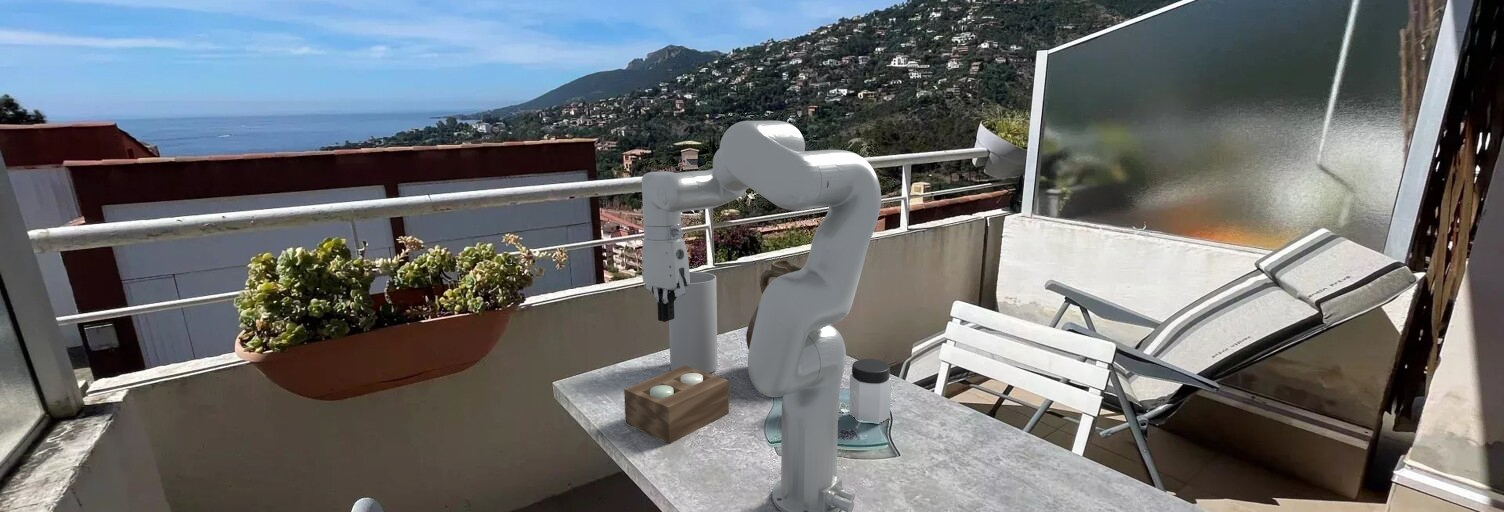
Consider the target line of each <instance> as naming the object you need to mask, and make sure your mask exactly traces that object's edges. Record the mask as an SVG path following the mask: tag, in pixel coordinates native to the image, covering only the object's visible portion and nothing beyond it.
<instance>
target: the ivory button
mask: <svg viewBox="0 0 1504 512" xmlns="http://www.w3.org/2000/svg"><path fill="white" fill-rule="evenodd" d="M702 381H703V376H702V375H701V374H698V373H687V374H684V375H682V376H681V382H682V383H685V384H687V385H690V386H693V385H695V384H697V383H700V382H702Z"/></svg>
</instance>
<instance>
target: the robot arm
mask: <svg viewBox="0 0 1504 512" xmlns="http://www.w3.org/2000/svg"><path fill="white" fill-rule="evenodd" d="M805 142H806V141H805V138H804V136H803V134H802V133H801V132H800V130H799V129H798V128H797V127H796V126H795V125H794V124H792V123H789V122H786V121H783V120H742V121H738V122H736V123H734V124H733V125H730V127H728V129H727V130H726V131H725V132H724V133H723V135H722V137H721V140H720V142H719V148H718V149H717V150H716V152H715V153H714V155H713V157H712V158H713V159H712V168H711V169H708V170H694V171H693V170H692V171H682V172H673V171H650V172H647V173H646V172H645V173H644V174H643V175H642V178H641V194H642V212H643V216H642V217H643V218H642V219H643V241H642V242H643V243H642V250H641V252H642V253H641V277H642V282H643V283H644V284H645V288H646V290H648V291H650V292H652V295H653V296H654V300H655V302H656V303H657V321H659V322H662V323H663V322H664V323H666V322H669V320H672V319H674V317H675V316H674V301H676V298H677V296H682V295H685V293H686V292H685V287H687V286H689V284H690V272H691V271H690V264H689V257H688V256H689V255H688V249H687V245H686V242H685V239H682V236H683V235H684V231H683V230H682V220H681V219H682V218H681V217H682V214H681V213H684V212H690V211H699V210H708V209H714V208H718V207H720V206H723V205H725V204H727V203H730V202H732V201H735V200H737V199H739V198H741V197H743V195H744V194H745V193H746V191H747V190H748V189H751V190H753V191H754V192H756V194H759V195H760V196H761V197H763V198H764V199H766V200H768V201H769V202H770V203H772V204H773V205H776V206H777V207H778V208H782V209H783V210H785V209H786V210H788V211H806V210H811V209H816V208H817V209H818V208H824V207H828V211H827V213H826V215H825V216H824V218H823V220H822V221H821V222H820V223H819V225H818V227H817V229H816V231H815V233H814V235H813V238H812V241H811V245H810V250H809V254H808V256H807V259H806V262H805V264H804V266H803V267H802V269H801V270H799V271H795V272H791V273H787V274H784V275H782V276H779V277H777V278H776V277H775V278H774V279H773V280H772V281H771V282H769V285H768V286H767V287H766V289H765V291H764V292H763V294H762V293H761V298H760V300H759V303H758V305H759V307H758V311H757V316H756V320H755V325H754V329H753V334H752V338H751V343H750V347H749V349H748V353H747V354H748V355H747V371H748V376H749V378H750V381H751V383H752V385H753V387H754V388H755V389H756V390H757V391H758V392H759V393H760V394H762V395H764V396H767V397H770V398H781V397H782V402H781V439H780V441H781V444H780V445H781V447H780V448H781V449H780V450H781V452H780V453H781V454H780V455H781V457H780V458H781V459H780V461H781V463H780V464H781V465H780V467H781V470H780V472H781V473H780V480H778V482H776V483H775V485H773V488H772V490H771V495H772V496H771V500H772V503H773V505H774V506H775V508H777V510H779V511H780V512H840V511H843V512H853V510H854V507H855V502H854V500H855V497H856V495H855V493H853V492H850V491H847V490H845V489H844V488H843V478H842V477H839V476H837V474H838V473H837V470H838V467H837V466H838V431H839V430H838V429H839V407H840V392H841V384H842V379H843V376H844V375H843V374H844V370H845V366H846V359H847V354H846V353H847V351H846V350H847V349H846V345H845V340H844V338H843V336H842V335H841V332H839V330H837V328H835V327H834V326H833V325H834V324H837V323H840V322H841V321H843V319H845V318H846V317H847V316H848V315H849V313H850V310H851V309H852V307H853V303H854V300H855V296H856V293H857V289H858V286H859V282H860V278H861V275H862V272H863V268H864V265H865V260H866V256H867V252H868V249H869V245H870V243H871V240H872V237H873V234H874V232H875V228H876V226H877V223H878V219H879V216H880V212H881V207H882V192H881V191H882V190H881V185H880V181H879V178H878V176H877V174H876V172H875V170H874V168H873V166H872V165H871V164H870V163H869V162H868V161H867V160H866V159H865V158H864V157H862V156H860V155H859V154H858V153H855V152H853V151H848V150H843V149H821V150H805V149H806V144H805ZM670 291H671V292H670ZM669 292H670V293H669Z"/></svg>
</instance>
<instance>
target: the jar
mask: <svg viewBox="0 0 1504 512" xmlns="http://www.w3.org/2000/svg"><path fill="white" fill-rule="evenodd" d="M851 366H852V367H851V374H850V375H849V401H848V402H849V403H848V404H849V405H848V406H849V407H848V413H850V414H851V415H853V416H854V417H855V418H856V419H857V420H863V421H873V422H882V423H883V421H884V422H886V421H887V420H888V419H890V417H891V400H892V378H891V376H890V374H891V366H890V364H889V363H887V362H886V361H883V360H879V359H876V358H875V359H874V358H873V359H872V358H863V359H858V360H855V361H854V362H853V363H852V365H851ZM850 414H849V415H850ZM851 415H850V416H851Z"/></svg>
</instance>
